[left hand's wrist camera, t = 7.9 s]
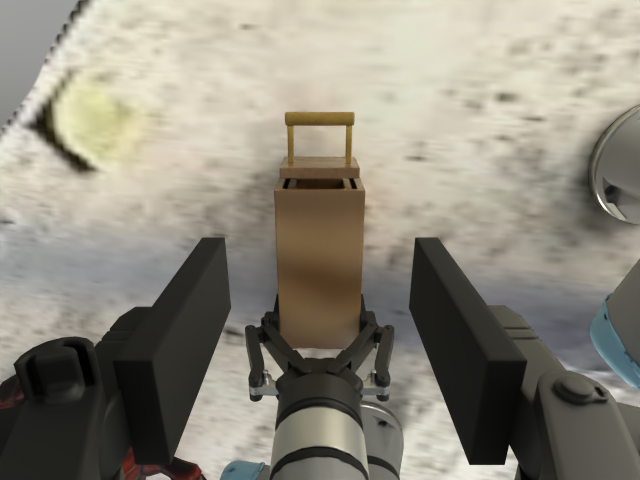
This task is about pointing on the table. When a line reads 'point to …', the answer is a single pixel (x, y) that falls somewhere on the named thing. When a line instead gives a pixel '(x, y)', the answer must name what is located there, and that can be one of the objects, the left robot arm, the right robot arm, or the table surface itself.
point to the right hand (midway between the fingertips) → (319, 302)
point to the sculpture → (180, 472)
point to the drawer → (319, 168)
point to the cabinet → (319, 264)
